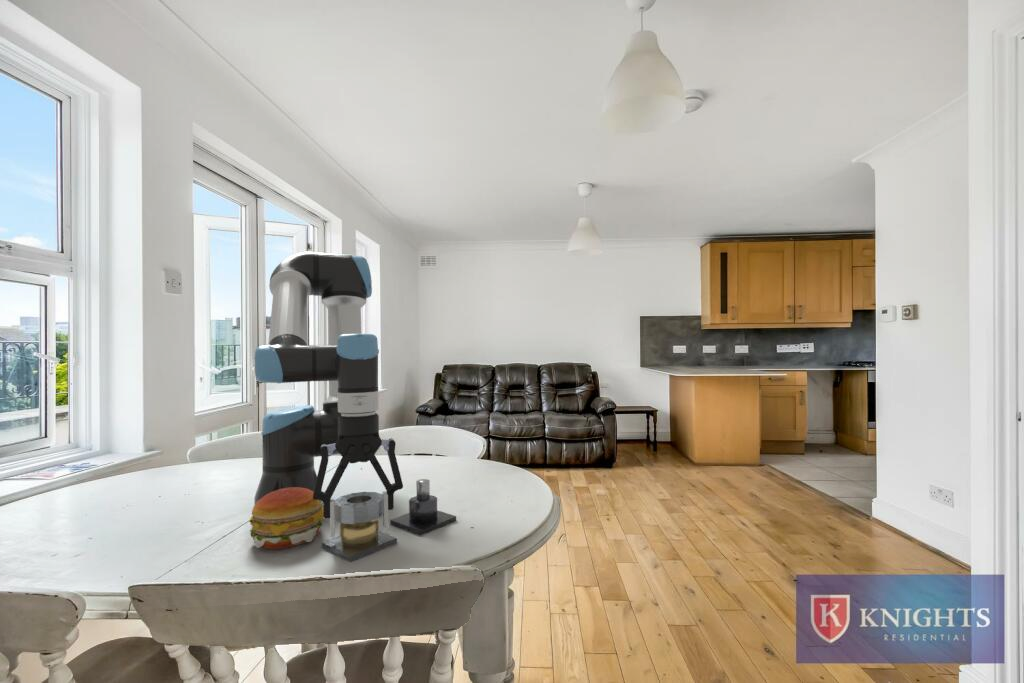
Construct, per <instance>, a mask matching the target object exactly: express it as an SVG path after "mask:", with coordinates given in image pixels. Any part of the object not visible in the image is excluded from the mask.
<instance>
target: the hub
mask: <svg viewBox="0 0 1024 683" xmlns="http://www.w3.org/2000/svg"><path fill="white" fill-rule="evenodd" d="M339 532H340V533H339V535H337V536H335V537H331V538H330V539H326V540H324V541H321V548H322V549H324V550H326V551H327V552H330V553H332V554H334V555H336V556H337V557H340V558H342V559H344V560H345V561H348V562H350V563H352V562H354V561H357V560H360V559H361V558H362V559H363V558H364V557H367V556H369V555H372V554H374V553H376V552H379V551H381V550H383V549H386V548H388V547H391V546H393V545H396V544H398V537H396V536H393V535H391V534H388V533H386V532H383V531H382V530H379V518H378V519H375V520H372V521H369V522H364V523H357V524H343V523H339Z"/></svg>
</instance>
